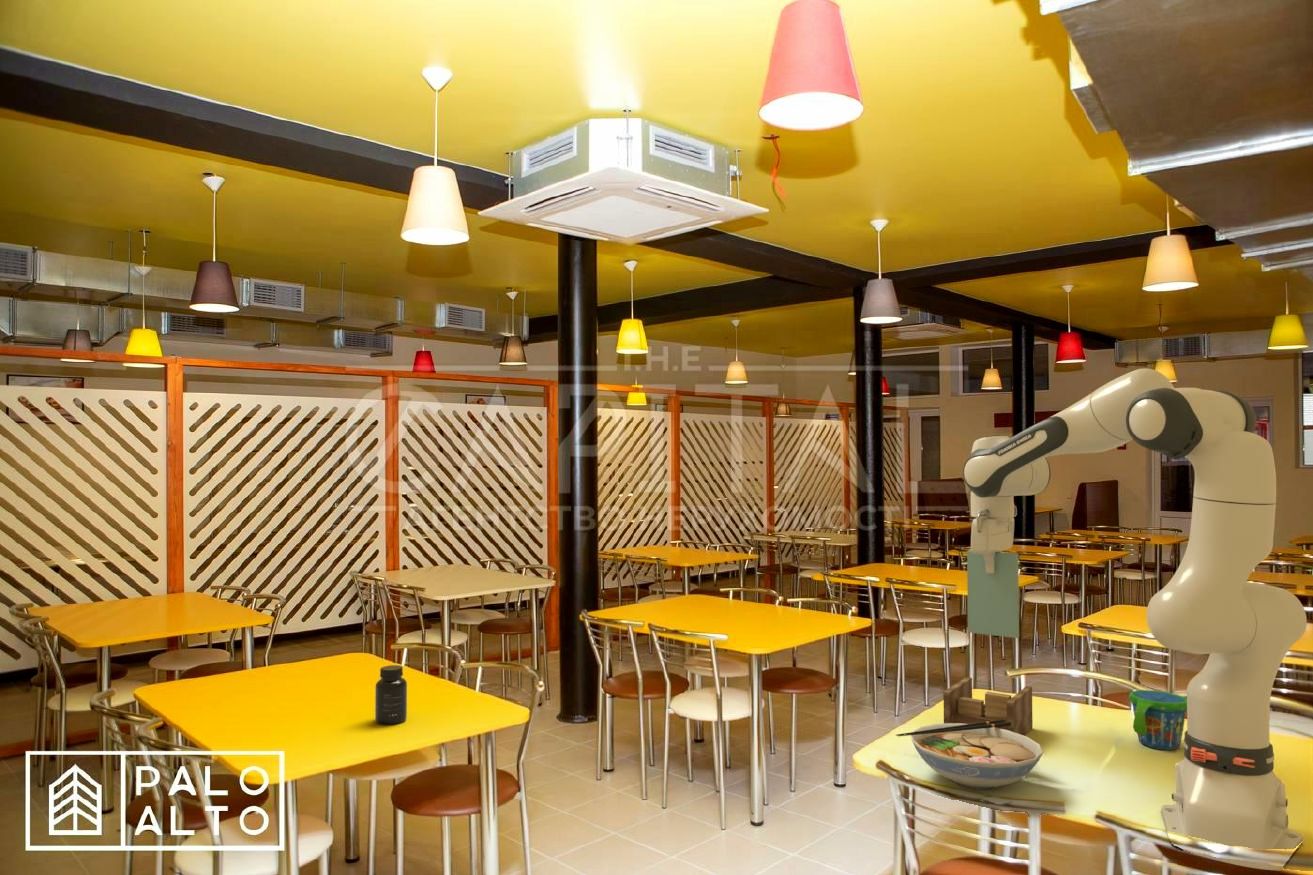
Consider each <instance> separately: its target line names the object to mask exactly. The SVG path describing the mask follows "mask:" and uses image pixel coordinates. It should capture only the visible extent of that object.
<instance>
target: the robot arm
mask: <svg viewBox="0 0 1313 875" xmlns="http://www.w3.org/2000/svg"><path fill="white" fill-rule="evenodd" d="M1256 427H1257V416H1256V412H1255V410H1254V408H1253V406H1252V404H1251V403H1249V401H1247V400H1246V399H1245V398H1243V397H1242V396H1240V395H1237V394H1235V393H1231V392H1229V391H1225V390H1209V389H1201V388H1199V387H1174V385H1173V383H1172V382H1171V381H1170V379H1169V378H1168V377H1167V376H1166V375H1165V374H1163V373H1162V372H1160V371H1157V370H1156V369H1152V368H1138V369H1135V370H1133V371H1130V372H1127V373H1125V374H1123V375H1121V376H1118V377H1116V378H1114V379H1113V380H1110V381H1109V382H1106V383H1105V384H1104V385H1102V386H1100V387H1098V388H1097V389H1095V390H1094V391H1092V392H1091V393H1089V394H1087V396H1085V397H1083V398H1081V399H1080V400H1079V401H1077V402H1075V403H1073V404H1072V405H1070V406H1068V407H1067V408H1065V409H1063V410H1061V411H1059V412H1057V413H1056V414H1053V415H1052V416H1050V417H1048V418H1045V419H1044V420H1042V421H1040V422H1038V423H1036V424H1034V425H1031V426H1029V427H1028V428H1026V429H1024V430H1023V431H1021V432H1019V433H1017V434H1015V435H1014V436H1012V437H1009V436H1008V435H1002V434H995V435H985V436H981V437H980V438H979V437H978V439H977V438H976V439H975V441H974V442H973V445H972V447H971V448H972V449H971V452H970V455H969V456H968V457H967V458H966V460H965V462H964V465H963V470H962V476H963V479H964V482H965V484H966V486H967V487H968V489H969V490H970V517H971V518H973V519H972V522H971V528H970V529H971V532H970V551H972V553H973V554H982V555H983V558H984V562H985V568H986V572H987V573H995V572H996V565H995V562H994V557H995V552H1002V553H1003V551H1005V550H1009V549H1012V547H1013V544H1014V537H1015V536H1014V535H1015V534H1014V533H1015V518H1014V517H1016V516H1017V515H1018V513H1017V512H1018V510H1017V506H1016V505H1015V502H1014V499H1015V498H1014V497H1017V496H1019V497H1020V496H1033V495H1037V494H1041V493H1043V492H1044V491H1045V490H1046V488H1047V487H1048V486H1049V484H1050V480H1051V474H1052V472H1051V465H1050V462H1049V461H1048V459H1047V458H1048V457H1054V456H1061V455H1077V454H1078V455H1079V454H1096V453H1097V454H1099V453H1103V452H1107V451H1110V450H1113V449H1116V448H1119V447H1121V446H1124V445H1125V444H1127V443H1129V442H1131V441H1132V440H1133V441H1134V442H1135V443H1136V444H1138V445H1140V446H1141V447H1143V448H1145V449H1148V450H1150V451H1153V452H1156V453H1159V454H1162V455H1164V456H1166V457H1167V458H1171V459H1173V460H1177V461H1178V460H1180V459H1183V458H1186V459H1187V460H1188V461H1189V462H1190V464H1192V468H1193V471H1194V484H1193V493H1192V494H1193V496H1192V510H1191V522H1190V527H1189V528H1190V531H1189V536H1188V537H1189V538H1188V542H1187V547H1186V550H1185V552H1184V554H1183V557H1182V558H1181V561H1180V563H1179V566H1178V568H1177V569H1176V571H1175V572H1174V574H1173V576H1172V577H1171V579H1170V580H1169V581H1168V582H1167V583H1166V585H1165V586H1163V588H1162V589H1160V590H1159V591H1158V592H1156V593H1155V594H1154V595H1153V596H1152V597H1151V598H1150V600H1149V602H1148V605H1147V610H1146V621H1147V626H1148V628H1149V629H1148V630H1149V631H1150V632H1151V635H1152V636H1153V637H1154V639H1155V640H1156V641H1157V642H1158V643H1159V645H1162V646H1163V647H1164V648H1166V649H1168V650H1173V651H1177V652H1181V653H1188V654H1194V655H1206V654H1207V655H1208V659H1207V661H1206V662H1205V664H1204V666H1203V667H1202V669H1201V670H1200V671H1199V672H1198V673H1197V674H1196V675H1195V676H1193V677H1192V678H1191V679H1190V681H1189V683H1188V685H1187V687H1186V699H1187V710H1186V717H1187V718H1186V721H1187V722H1186V726H1187V728H1186V731H1184V738H1183V748H1184V750H1183V754H1184V755H1183V756H1184V758H1183V759H1181V760H1180V761H1178V762H1176V763H1175V766H1174V767H1175V770H1174V771H1175V777H1174V778H1175V783H1174V784H1175V791H1173V792H1172V793H1171V800H1172V802H1175V804H1162V806H1161V809H1160V815H1161V817H1162V821H1163V825H1164V828H1165V831H1170V832H1175V833H1179V834H1183V835H1186V836H1191V837H1196V838H1201V839H1205V840H1208V841H1212V842H1216V843H1221V844H1224V845H1228V846H1243V847H1248V848H1253V849H1262V850H1266V849H1285V850H1286V849H1294V848H1296V846H1298V845H1299V844H1300V843H1301V842H1302V841H1303V842H1304V840H1303V839H1304V838H1303V834H1301V833H1299V832H1298V831H1296V830H1292V829H1290V828H1289V827H1288V826H1289V815H1288V813H1287V812H1288V811H1287V808H1288V804H1289V802H1288V798H1287V794H1286V792H1287V791H1286V790H1287V789H1286V784H1285V783H1284V782H1283V781H1282V780H1281V779H1280V778H1279V777H1278V776H1277V775H1276V774H1275V773H1274V771H1273V770H1274V769H1275V767H1274V766H1275V765H1274V761H1275V752H1274V747H1273V744H1272V743H1271V742H1270V714H1271V713H1270V712H1271V708H1270V707H1271V696H1272V690H1273V687H1274V686H1273V685H1274V683H1275V680H1276V677H1277V673H1278V671H1279V669H1280V667H1281V664H1282V662H1283V661H1284V658H1285V656H1286V654H1288V652H1289V650H1290V649H1291V648H1292V647H1293V646H1294V645H1295V644H1296V643H1297V642H1299V640H1301V639H1302V638H1303V636H1304V634H1305V632H1306V630H1307V621H1308V620H1307V613H1306V610H1305V608H1304V606H1303V604H1302V603H1301V600H1299V598H1298V597H1297V596H1296V595H1295V594H1293V593H1292V592H1291V591H1289V590H1287V589H1285V588H1281V587H1278V586H1274V585H1268V584H1265V583H1259V582H1247V581H1248V579H1249V577H1250V576H1251V574H1252V573H1253V571H1254V570H1255V568H1256V567H1257V566H1259V564H1260V563H1262V562H1263V561H1264V560H1266V559H1267V558H1268V557H1269V556H1270V554H1271V553H1272V551H1273V547H1274V534H1275V533H1274V532H1275V522H1276V520H1275V519H1276V510H1277V509H1276V507H1277V506H1276V505H1277V504H1276V503H1277V473H1276V465H1275V458H1274V457H1275V456H1274V451H1273V447H1272V445H1271V444H1270V442H1269V441H1268V440H1267V439H1266V438H1264V437H1262V436H1260V435H1258V434H1256V433H1255V431H1256ZM1183 851H1184V852H1187V853H1191V854H1193V855H1197V856H1200V857H1203V858H1207V859H1211V860H1214V861H1218V862H1223V863H1227V864H1231V865H1235V866H1239V867H1245V868H1250V869H1251V868H1252V869H1258V870H1266V871H1268V870H1269V871H1282V870H1283V869H1284V867H1282V866H1274V865H1269V864H1265V863H1260V862H1254V861H1238V860H1226V859H1222V858H1216V857H1212V856H1209V855H1206V854H1200V853H1193V852H1189V851H1186V850H1183Z"/></svg>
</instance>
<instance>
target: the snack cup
mask: <svg viewBox="0 0 1313 875" xmlns="http://www.w3.org/2000/svg"><path fill="white" fill-rule="evenodd" d="M1128 697H1129V698H1128V699H1129V701H1130V703H1131V705H1132V707H1133V708H1132V710H1133V715H1134V719H1133V724H1132V728H1133V731H1134V733H1136V734H1137V738H1138V741H1139V743H1141V744H1143V746H1146V747H1149V748H1153V749H1158V750H1166V751H1168V750H1169V751H1172V750H1176V749H1178V748H1180V747H1181V744H1182V737H1183V734H1184V733H1183V732H1184V726H1185V718H1186V713H1187V697H1185V696H1181V695H1179V694H1175V693H1172V692H1165V691H1158V690H1147V689H1145V690H1142V689H1140V690H1138V689H1137V690H1133V691H1132V690H1131V692H1129V694H1128Z"/></svg>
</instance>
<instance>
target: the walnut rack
mask: <svg viewBox="0 0 1313 875" xmlns="http://www.w3.org/2000/svg"><path fill="white" fill-rule="evenodd" d="M960 697H966V698H972V699H973V677H968V676H966V677H964V678H962V679H961V680H960V681H958V682H956V683H955V684H953V685H952V686H951V687H949V688H947V689H946V690H944V691H943V724H945V723H963V724H973V723H979V722H987V721H993V720H994V719H989V718H985V703H984V718H983V717H977V716H972V715H966V714H960V713H958V698H960ZM1007 722H1011V726H1004V727H995V728H1000V729H1005V730H1009V731H1012V732H1015V733H1018V734H1021V735H1024V736H1027V735H1028V734H1029V733H1030V732H1031V731H1032V730H1033V729H1034V728H1033V686H1029V685H1026V686H1025V687H1023V688H1022V689H1020V690H1019V691H1018V692H1017V693H1016V694H1015V695H1013V696H1011V699H1010V700H1009V701H1007Z"/></svg>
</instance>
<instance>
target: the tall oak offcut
mask: <svg viewBox="0 0 1313 875" xmlns="http://www.w3.org/2000/svg"><path fill="white" fill-rule="evenodd" d="M1011 698H1012V695H1011V694H1004V693H999V692H993V691H992V692H991V691H986V692H985V693H984V704H985V718H989V719H994V720H1000V719H1004V720H1005V722H1007V701H1009V700H1010V699H1011Z"/></svg>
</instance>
